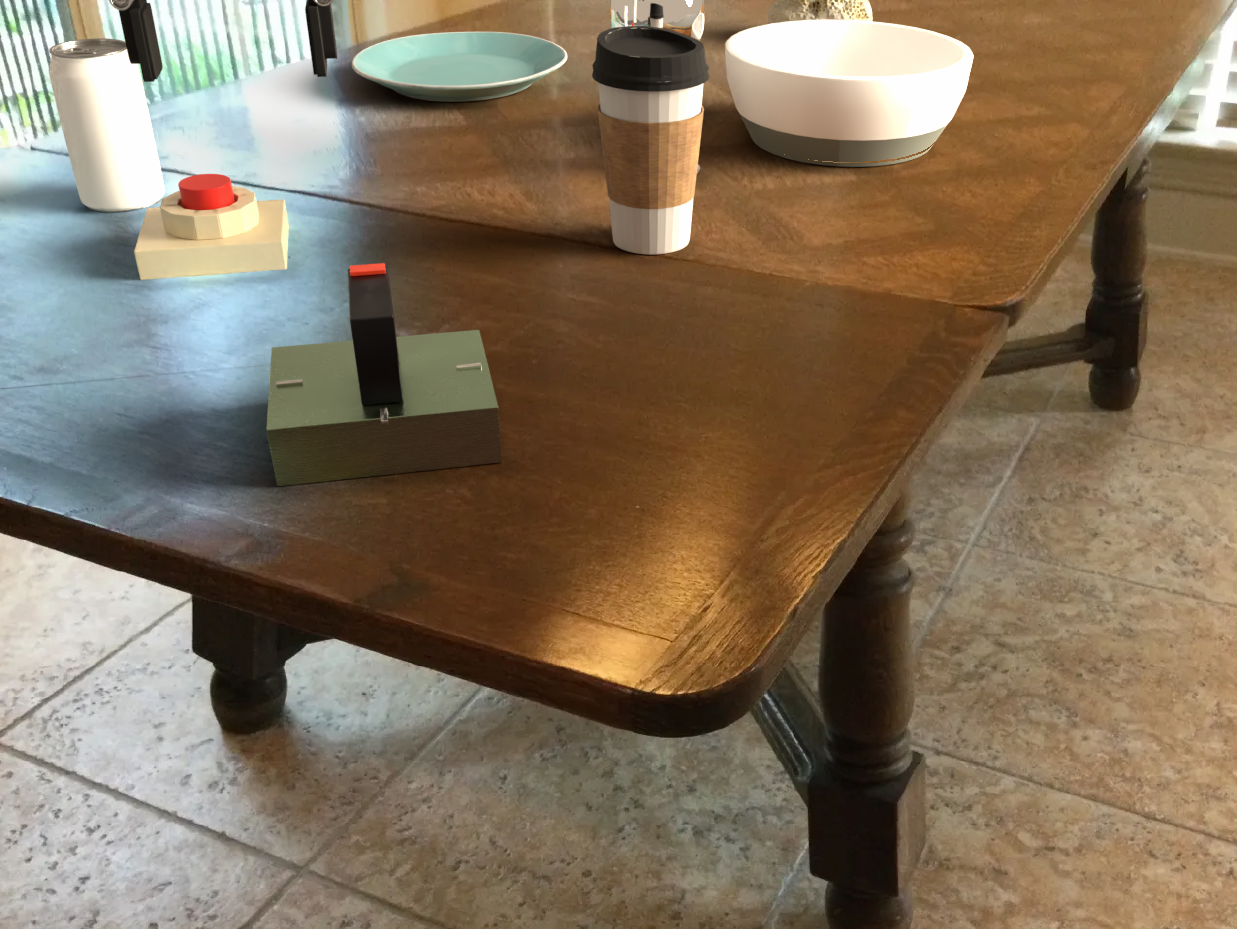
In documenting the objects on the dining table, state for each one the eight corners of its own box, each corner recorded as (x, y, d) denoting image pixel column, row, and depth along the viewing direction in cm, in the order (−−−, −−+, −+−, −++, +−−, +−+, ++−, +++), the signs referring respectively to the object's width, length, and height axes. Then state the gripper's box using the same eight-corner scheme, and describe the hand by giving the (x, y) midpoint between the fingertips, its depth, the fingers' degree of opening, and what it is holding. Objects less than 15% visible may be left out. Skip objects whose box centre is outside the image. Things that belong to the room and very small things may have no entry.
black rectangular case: (403, 401, 70) (392, 311, 67) (361, 406, 70) (349, 315, 67) (397, 346, 76) (387, 261, 73) (358, 349, 75) (346, 264, 73)
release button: (180, 215, 93) (175, 191, 92) (185, 198, 96) (180, 175, 95) (233, 212, 94) (229, 188, 93) (236, 195, 97) (231, 172, 96)
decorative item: (867, -7, 158) (883, -29, 148) (856, 68, 160) (871, 51, 150) (769, -22, 157) (779, -45, 148) (759, 53, 159) (768, 36, 149)
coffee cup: (653, 213, 105) (653, 18, 97) (728, 242, 100) (735, 39, 92) (573, 239, 100) (566, 35, 92) (648, 270, 95) (647, 58, 87)
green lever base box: (276, 492, 69) (265, 432, 67) (281, 396, 78) (271, 340, 76) (503, 468, 71) (499, 409, 69) (482, 377, 81) (478, 322, 79)
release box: (140, 280, 92) (127, 226, 90) (153, 235, 99) (141, 184, 97) (287, 270, 94) (278, 216, 92) (289, 226, 101) (280, 175, 99)
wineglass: (703, 158, 117) (708, -85, 106) (701, 187, 111) (705, -69, 100) (616, 156, 117) (612, -87, 106) (609, 184, 111) (603, -71, 100)
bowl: (876, 95, 135) (884, 11, 131) (1011, 158, 119) (1026, 63, 114) (681, 120, 127) (682, 30, 122) (798, 191, 110) (804, 90, 106)
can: (149, 215, 103) (115, 58, 96) (67, 213, 103) (27, 56, 96) (178, 188, 108) (147, 37, 102) (100, 186, 108) (64, 36, 102)
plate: (397, 124, 124) (393, 94, 123) (326, 70, 140) (323, 43, 139) (605, 95, 134) (604, 67, 132) (516, 48, 150) (515, 22, 148)
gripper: (-11, -259, 64) (72, 95, 73) (351, -253, 67) (386, 85, 77) (22, -266, 70) (95, 62, 80) (352, -260, 73) (385, 54, 83)
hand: (238, 73), depth 78 cm, fingers open, 9 cm apart
